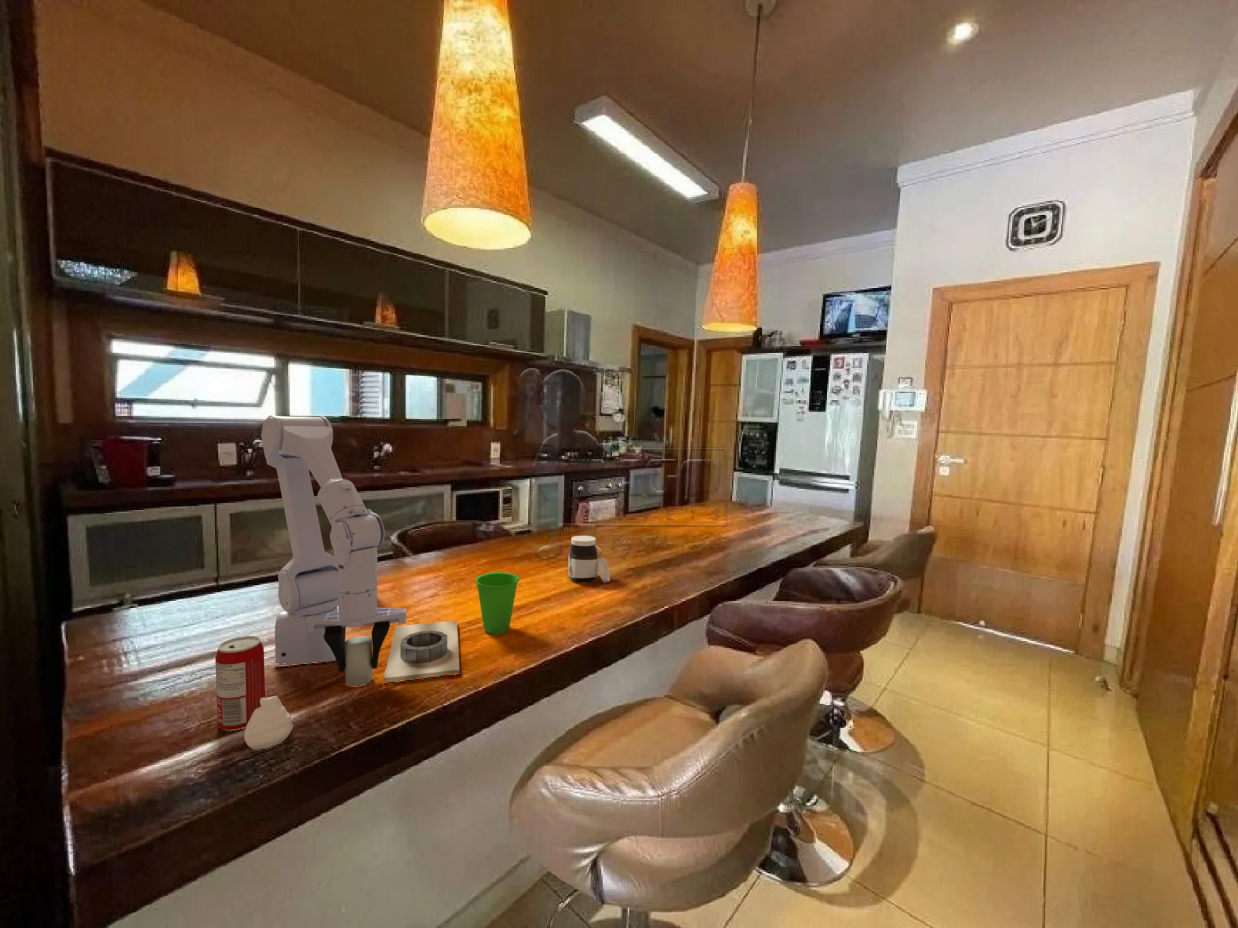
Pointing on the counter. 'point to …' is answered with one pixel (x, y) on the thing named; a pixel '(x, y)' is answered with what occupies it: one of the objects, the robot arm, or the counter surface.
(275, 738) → the garlic bulb
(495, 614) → the cup
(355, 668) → the gray peg
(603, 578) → the spread jar
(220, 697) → the soda can
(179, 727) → the counter surface
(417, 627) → the peg holder
